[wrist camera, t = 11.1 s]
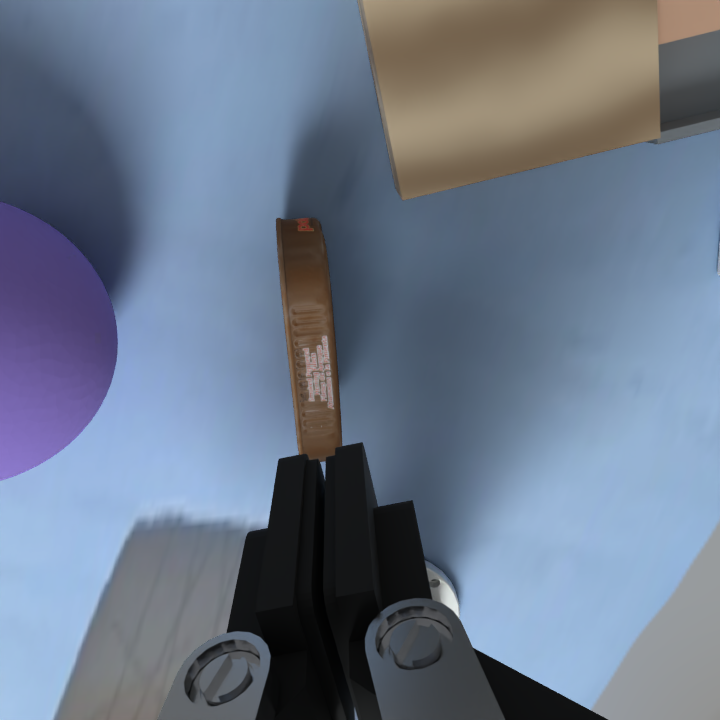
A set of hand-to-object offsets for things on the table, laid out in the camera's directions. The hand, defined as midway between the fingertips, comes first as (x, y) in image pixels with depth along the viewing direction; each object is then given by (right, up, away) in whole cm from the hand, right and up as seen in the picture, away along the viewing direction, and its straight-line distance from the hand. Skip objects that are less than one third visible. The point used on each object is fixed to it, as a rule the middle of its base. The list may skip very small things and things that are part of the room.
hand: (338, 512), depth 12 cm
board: (+8, +21, +22) cm, 31 cm away
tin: (-3, +6, +29) cm, 29 cm away
